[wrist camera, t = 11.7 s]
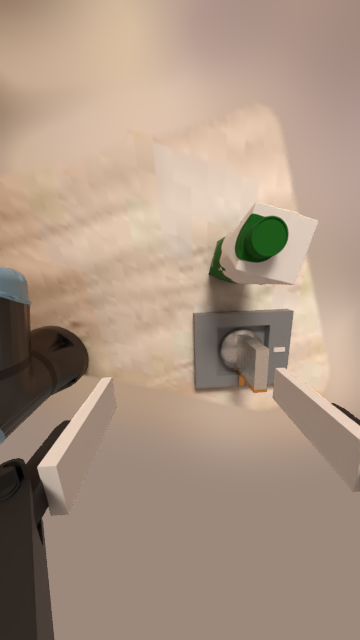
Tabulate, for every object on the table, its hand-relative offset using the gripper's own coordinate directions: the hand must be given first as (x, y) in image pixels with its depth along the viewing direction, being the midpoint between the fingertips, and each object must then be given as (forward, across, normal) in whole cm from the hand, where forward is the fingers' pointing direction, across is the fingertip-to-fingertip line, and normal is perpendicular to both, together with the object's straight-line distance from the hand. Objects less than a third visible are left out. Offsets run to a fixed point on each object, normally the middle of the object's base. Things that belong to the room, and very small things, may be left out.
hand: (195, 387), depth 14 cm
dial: (+27, +14, -8) cm, 31 cm away
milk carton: (+27, +11, +12) cm, 31 cm away
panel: (+27, +14, -8) cm, 31 cm away
